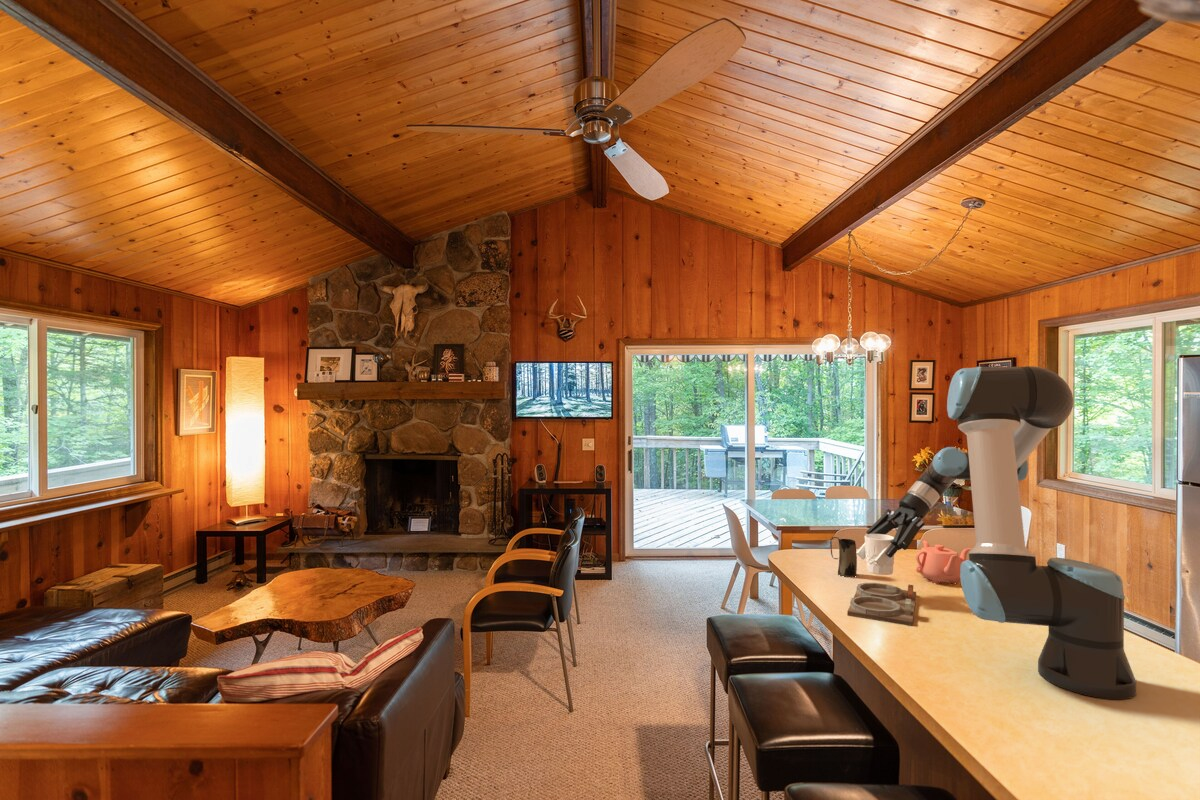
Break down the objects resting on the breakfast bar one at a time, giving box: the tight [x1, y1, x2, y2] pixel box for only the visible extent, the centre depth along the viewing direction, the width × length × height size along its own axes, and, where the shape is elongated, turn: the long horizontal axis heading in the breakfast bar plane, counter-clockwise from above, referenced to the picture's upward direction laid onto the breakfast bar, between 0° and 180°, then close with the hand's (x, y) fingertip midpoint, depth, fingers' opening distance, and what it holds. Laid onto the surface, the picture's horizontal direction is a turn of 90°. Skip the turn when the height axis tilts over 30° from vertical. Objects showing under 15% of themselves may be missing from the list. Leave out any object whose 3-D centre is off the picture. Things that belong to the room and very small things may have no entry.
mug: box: [829, 536, 858, 578], centre depth 193 cm, size 8×6×12 cm
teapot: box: [915, 539, 973, 585], centre depth 187 cm, size 14×14×11 cm
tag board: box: [846, 582, 917, 626], centre depth 164 cm, size 27×15×4 cm, turn 150°
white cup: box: [864, 533, 895, 576], centre depth 171 cm, size 8×8×10 cm
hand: (868, 559), depth 171 cm, fingers closed on white cup, 8 cm apart
